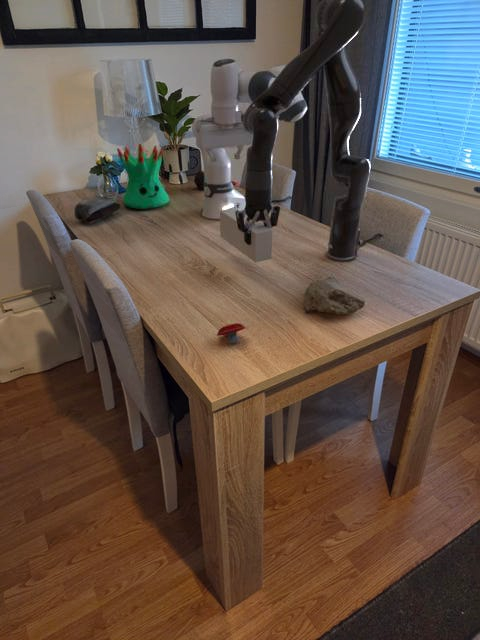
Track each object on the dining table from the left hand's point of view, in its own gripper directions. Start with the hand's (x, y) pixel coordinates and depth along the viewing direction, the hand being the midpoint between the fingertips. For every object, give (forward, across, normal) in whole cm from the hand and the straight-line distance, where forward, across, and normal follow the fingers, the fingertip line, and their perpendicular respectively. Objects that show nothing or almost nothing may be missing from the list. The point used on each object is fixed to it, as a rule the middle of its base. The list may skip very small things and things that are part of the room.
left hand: (225, 160), depth 153 cm
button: (+29, -29, -61) cm, 74 cm away
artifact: (+29, +3, -58) cm, 65 cm away
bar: (+21, -7, -26) cm, 34 cm away
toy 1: (+29, -13, +55) cm, 64 cm away
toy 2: (+29, +23, +65) cm, 75 cm away
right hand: (+16, -7, -34) cm, 39 cm away
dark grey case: (+29, -37, +45) cm, 65 cm away
